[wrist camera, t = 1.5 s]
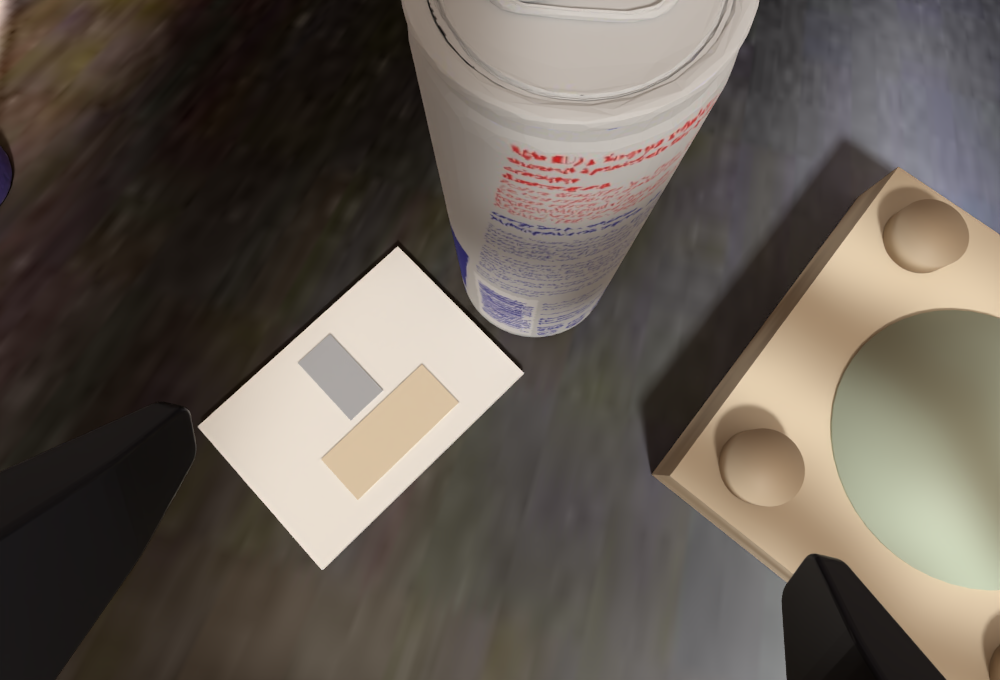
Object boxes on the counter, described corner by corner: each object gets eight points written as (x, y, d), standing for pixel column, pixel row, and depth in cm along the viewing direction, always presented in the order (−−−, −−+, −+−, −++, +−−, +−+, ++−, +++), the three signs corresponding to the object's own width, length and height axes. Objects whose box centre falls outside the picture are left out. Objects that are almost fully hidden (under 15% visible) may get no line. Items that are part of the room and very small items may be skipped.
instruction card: (324, 568, 22) (321, 570, 21) (201, 427, 23) (196, 426, 22) (523, 374, 23) (523, 372, 22) (398, 248, 24) (397, 245, 24)
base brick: (989, 744, 20) (1081, 797, 17) (651, 474, 22) (676, 476, 19) (1181, 417, 22) (1295, 410, 19) (858, 196, 24) (913, 155, 21)
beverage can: (634, 265, 24) (848, -56, 9) (539, 370, 23) (602, 204, 8) (529, 176, 24) (566, -253, 10) (433, 274, 24) (316, -34, 9)
